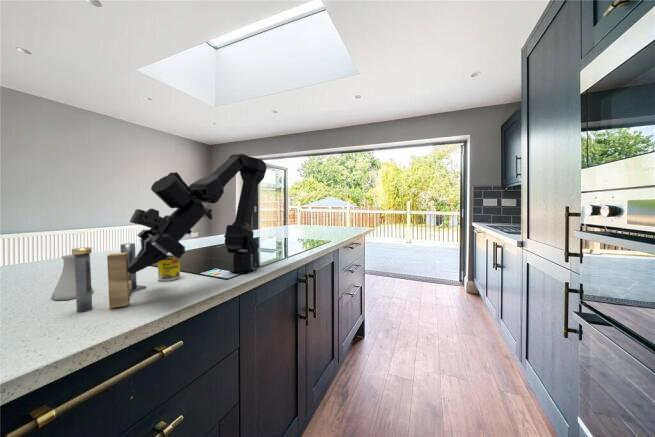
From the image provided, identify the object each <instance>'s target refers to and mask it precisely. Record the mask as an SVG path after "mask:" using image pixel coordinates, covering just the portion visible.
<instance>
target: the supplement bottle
mask: <svg viewBox="0 0 655 437" xmlns="http://www.w3.org/2000/svg"><path fill="white" fill-rule="evenodd" d="M167 256H169V258H166V259H164V260H162V261H159V262H157V269H158V272H157V273H158V278H157V279H158V280H159V281H161V282H169V281H170V282H171V281H175V280H178V279H179V278H180V277H181V270H180V269H181V268H180V267H181V264H180V259H181V257H180V258H179V259H177V258H175V257H173V255H172V254H171V253H168V254H167Z"/></svg>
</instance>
